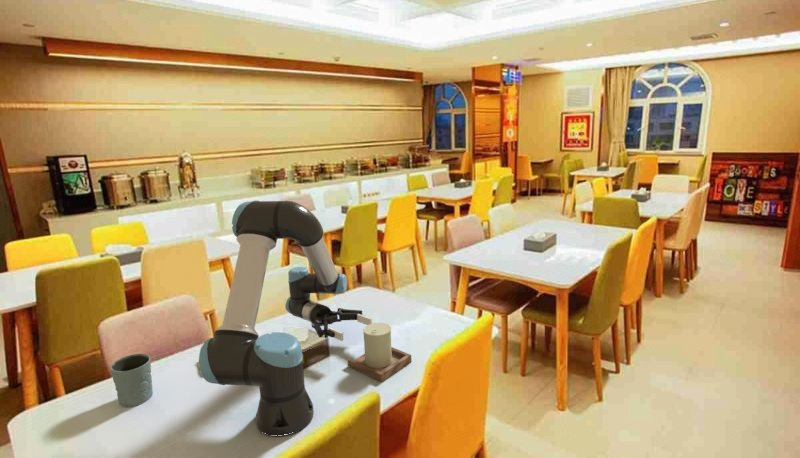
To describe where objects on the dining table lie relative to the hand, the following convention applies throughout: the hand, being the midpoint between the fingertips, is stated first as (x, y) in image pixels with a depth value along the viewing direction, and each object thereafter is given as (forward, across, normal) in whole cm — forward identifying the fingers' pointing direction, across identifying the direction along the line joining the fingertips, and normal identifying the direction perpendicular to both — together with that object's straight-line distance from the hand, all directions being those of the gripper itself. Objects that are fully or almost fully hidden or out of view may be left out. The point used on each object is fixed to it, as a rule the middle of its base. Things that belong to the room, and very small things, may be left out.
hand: (357, 329), depth 148 cm
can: (+10, 0, -9) cm, 13 cm away
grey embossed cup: (-35, +58, -10) cm, 68 cm away
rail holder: (+10, 0, -10) cm, 14 cm away
